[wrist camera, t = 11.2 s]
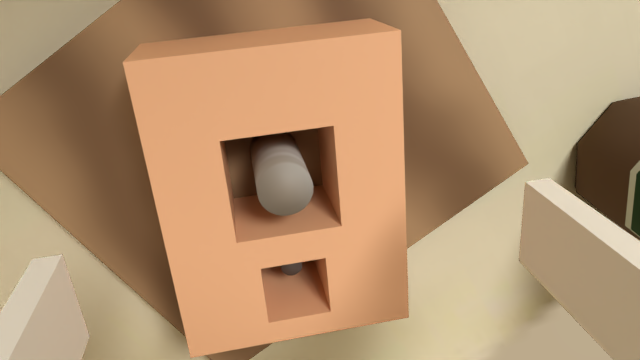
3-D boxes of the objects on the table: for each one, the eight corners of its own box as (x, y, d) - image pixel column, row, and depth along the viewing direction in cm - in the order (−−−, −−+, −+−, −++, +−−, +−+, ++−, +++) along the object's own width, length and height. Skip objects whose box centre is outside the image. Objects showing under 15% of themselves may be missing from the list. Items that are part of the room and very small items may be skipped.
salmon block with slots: (140, 43, 23) (122, 62, 18) (369, 18, 24) (401, 30, 20) (194, 299, 28) (190, 357, 24) (381, 266, 29) (408, 317, 25)
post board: (333, -168, 22) (372, -212, 16) (516, 155, 29) (588, 202, 24) (-31, 122, 24) (-110, 173, 18) (227, 359, 31) (229, 449, 25)
